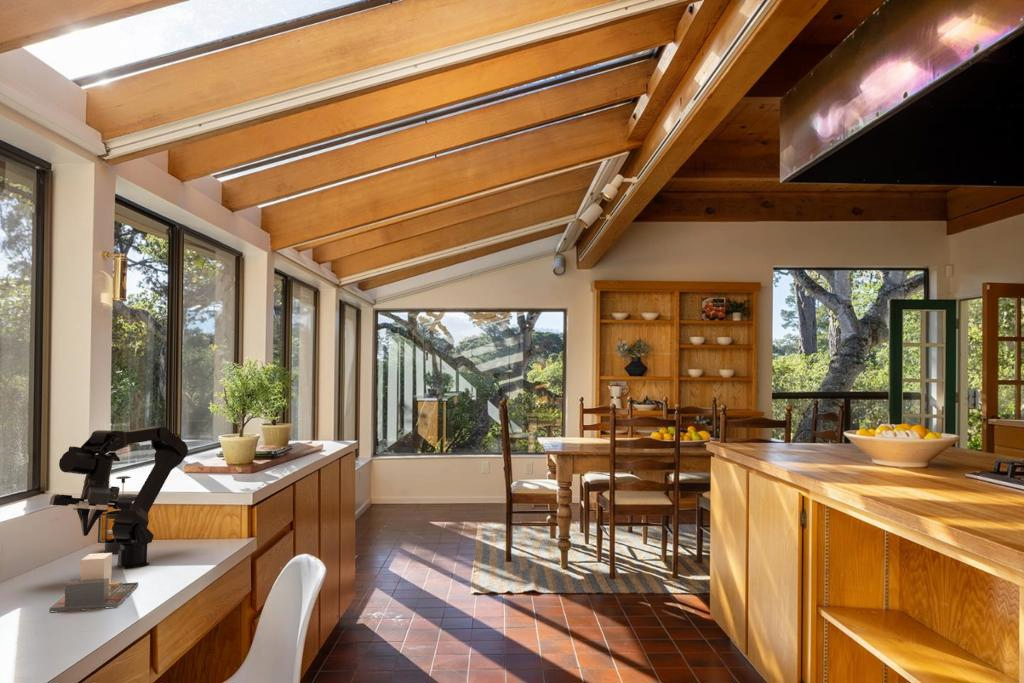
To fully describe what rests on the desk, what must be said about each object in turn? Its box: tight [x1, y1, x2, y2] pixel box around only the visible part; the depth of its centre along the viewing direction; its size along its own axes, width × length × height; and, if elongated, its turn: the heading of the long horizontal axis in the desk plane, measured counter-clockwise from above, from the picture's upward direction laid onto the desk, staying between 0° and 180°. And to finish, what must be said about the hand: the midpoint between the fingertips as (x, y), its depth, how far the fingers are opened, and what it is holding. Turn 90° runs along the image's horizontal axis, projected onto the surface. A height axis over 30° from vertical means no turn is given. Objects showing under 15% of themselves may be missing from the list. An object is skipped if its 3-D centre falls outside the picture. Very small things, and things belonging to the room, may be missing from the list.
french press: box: [97, 475, 138, 555], centre depth 221 cm, size 12×9×23 cm
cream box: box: [79, 552, 120, 592], centre depth 170 cm, size 6×10×9 cm, turn 105°
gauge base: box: [49, 578, 139, 613], centre depth 171 cm, size 18×14×6 cm
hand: (85, 535), depth 187 cm, fingers closed
